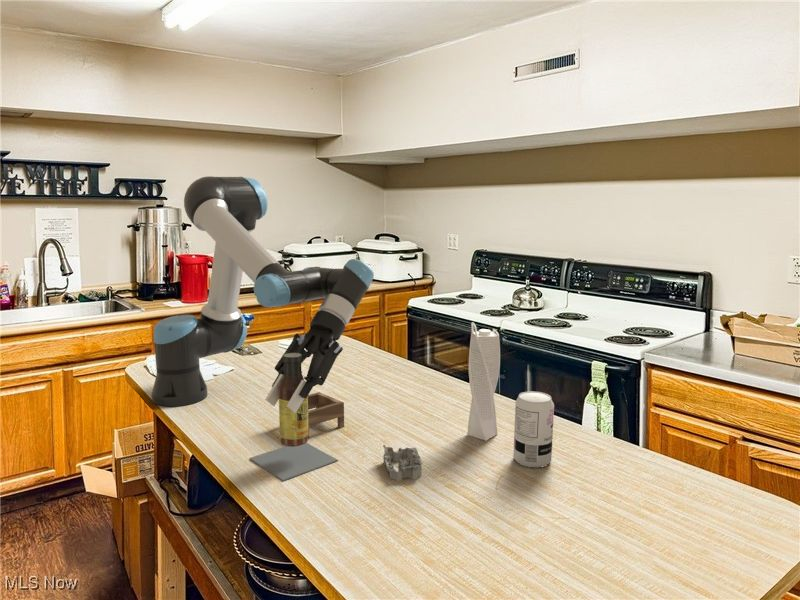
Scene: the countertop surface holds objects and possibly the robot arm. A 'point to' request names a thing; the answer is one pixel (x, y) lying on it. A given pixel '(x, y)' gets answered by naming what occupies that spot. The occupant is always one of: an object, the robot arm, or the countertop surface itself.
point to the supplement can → (533, 429)
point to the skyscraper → (483, 382)
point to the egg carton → (403, 463)
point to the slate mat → (293, 460)
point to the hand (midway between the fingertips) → (280, 406)
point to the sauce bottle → (290, 422)
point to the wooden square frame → (324, 409)
